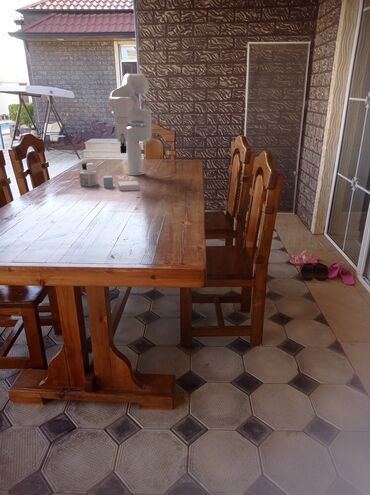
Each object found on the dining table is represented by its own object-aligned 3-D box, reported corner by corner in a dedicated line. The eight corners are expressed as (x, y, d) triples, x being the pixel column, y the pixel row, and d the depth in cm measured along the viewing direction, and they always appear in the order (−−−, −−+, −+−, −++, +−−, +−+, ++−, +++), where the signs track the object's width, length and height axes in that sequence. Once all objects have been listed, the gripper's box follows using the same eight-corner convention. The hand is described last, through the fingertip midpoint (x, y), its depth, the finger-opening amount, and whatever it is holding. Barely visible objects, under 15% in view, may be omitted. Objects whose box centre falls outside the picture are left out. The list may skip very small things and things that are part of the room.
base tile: (118, 186, 220) (117, 181, 218) (136, 185, 222) (136, 180, 221) (119, 190, 210) (119, 185, 209) (139, 189, 212) (138, 184, 211)
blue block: (104, 186, 221) (103, 176, 219) (112, 185, 223) (111, 175, 220) (104, 187, 217) (103, 177, 215) (113, 187, 218) (112, 177, 216)
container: (80, 185, 223) (77, 163, 218) (88, 182, 229) (86, 161, 225) (90, 186, 220) (88, 164, 215) (98, 184, 226) (96, 162, 221)
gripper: (115, 120, 216) (117, 150, 222) (114, 121, 200) (116, 154, 206) (128, 120, 217) (130, 150, 223) (128, 121, 201) (130, 153, 207)
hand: (123, 152), depth 214 cm, fingers open, 9 cm apart
